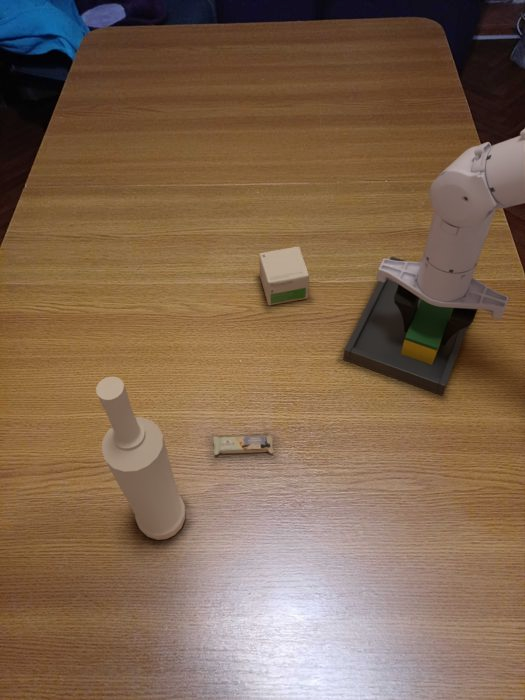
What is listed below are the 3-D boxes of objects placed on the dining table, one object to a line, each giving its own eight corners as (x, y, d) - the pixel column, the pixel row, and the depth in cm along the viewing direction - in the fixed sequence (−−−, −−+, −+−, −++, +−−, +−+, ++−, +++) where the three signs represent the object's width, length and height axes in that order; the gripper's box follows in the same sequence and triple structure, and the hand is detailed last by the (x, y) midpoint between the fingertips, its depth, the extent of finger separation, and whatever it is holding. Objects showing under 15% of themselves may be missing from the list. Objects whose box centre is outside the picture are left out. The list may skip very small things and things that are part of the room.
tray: (479, 295, 82) (483, 284, 81) (442, 395, 73) (445, 386, 71) (389, 266, 86) (391, 256, 84) (342, 359, 77) (344, 349, 75)
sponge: (432, 365, 75) (437, 347, 72) (400, 354, 76) (405, 336, 73) (447, 324, 79) (454, 306, 76) (417, 314, 80) (422, 296, 77)
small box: (267, 307, 82) (267, 282, 78) (259, 276, 85) (257, 251, 81) (309, 300, 83) (310, 274, 79) (298, 269, 86) (299, 244, 82)
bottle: (141, 548, 63) (77, 426, 43) (134, 501, 66) (71, 368, 46) (191, 534, 64) (150, 408, 44) (181, 489, 67) (139, 352, 47)
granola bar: (213, 457, 69) (212, 452, 68) (213, 438, 70) (213, 434, 69) (273, 455, 69) (273, 450, 68) (272, 436, 70) (272, 432, 69)
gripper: (528, 249, 66) (492, 329, 77) (397, 212, 70) (382, 293, 81) (513, 294, 62) (478, 371, 73) (377, 252, 66) (363, 331, 77)
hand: (426, 332), depth 77 cm, fingers closed on sponge, 4 cm apart
